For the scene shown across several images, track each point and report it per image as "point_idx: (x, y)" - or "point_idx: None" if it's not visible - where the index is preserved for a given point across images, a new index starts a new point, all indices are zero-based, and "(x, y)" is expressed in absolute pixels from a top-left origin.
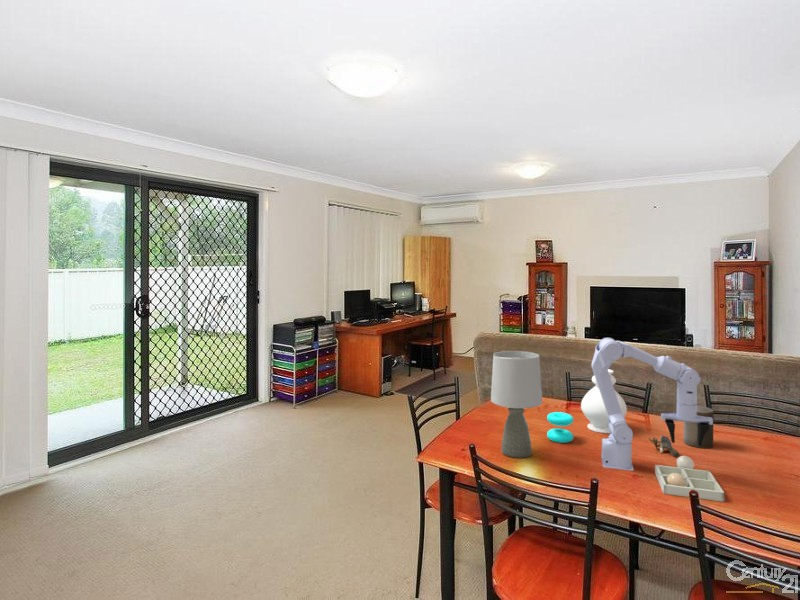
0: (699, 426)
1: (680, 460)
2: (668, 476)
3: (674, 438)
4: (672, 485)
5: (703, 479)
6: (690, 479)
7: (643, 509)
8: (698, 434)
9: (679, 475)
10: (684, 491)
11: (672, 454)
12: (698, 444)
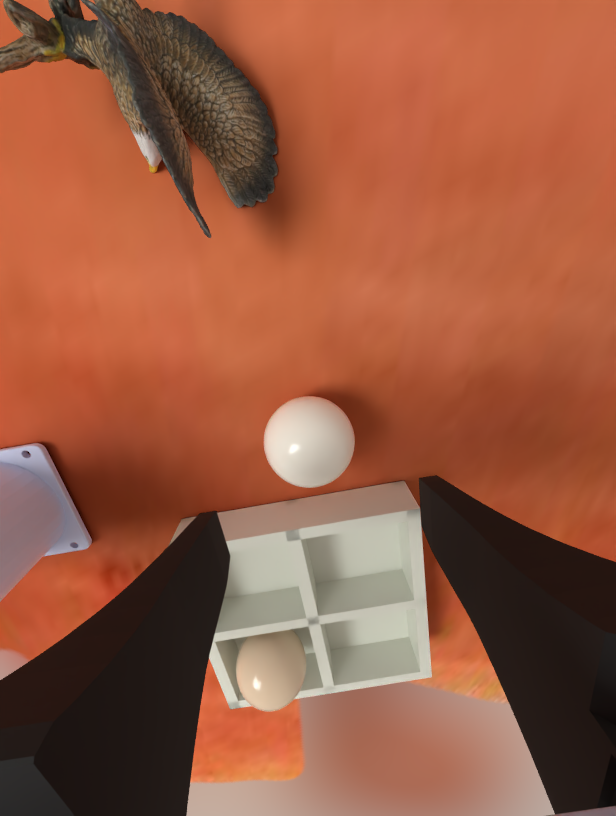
0: (556, 729)
1: (284, 478)
2: (240, 690)
3: (220, 603)
4: None
5: (376, 608)
6: (325, 619)
7: (196, 753)
8: (469, 552)
9: (281, 707)
10: None
11: (232, 191)
12: (421, 513)
